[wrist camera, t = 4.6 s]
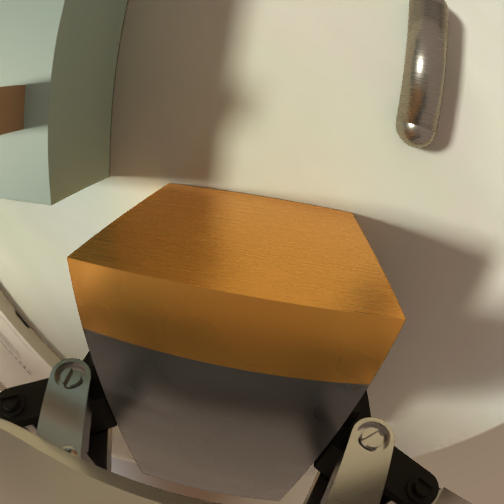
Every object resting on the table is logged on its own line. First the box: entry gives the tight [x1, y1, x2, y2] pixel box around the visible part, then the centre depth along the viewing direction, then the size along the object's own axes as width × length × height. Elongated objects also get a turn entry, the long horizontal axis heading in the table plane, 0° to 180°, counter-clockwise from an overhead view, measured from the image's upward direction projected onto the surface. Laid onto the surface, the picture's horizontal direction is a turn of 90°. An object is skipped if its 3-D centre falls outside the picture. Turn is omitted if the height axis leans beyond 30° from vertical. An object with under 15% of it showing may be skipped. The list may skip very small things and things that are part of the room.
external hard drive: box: [0, 290, 62, 389], centre depth 15 cm, size 2×8×12 cm
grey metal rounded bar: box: [396, 0, 448, 148], centre depth 6 cm, size 5×1×1 cm, turn 172°
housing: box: [67, 183, 406, 501], centre depth 9 cm, size 10×6×5 cm, turn 172°
